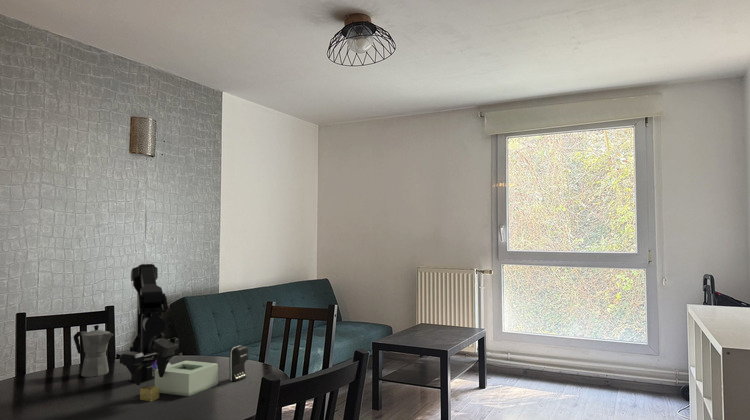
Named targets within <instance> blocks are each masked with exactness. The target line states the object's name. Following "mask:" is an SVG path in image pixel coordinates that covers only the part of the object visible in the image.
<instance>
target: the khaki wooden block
mask: <svg viewBox="0 0 750 420" xmlns="http://www.w3.org/2000/svg"><path fill="white" fill-rule="evenodd" d="M139 390H140V391H139V400H140V401H146V402H153V401H155V400H158V399H160V393H159V387H155V385H146V386H144V387H141V388H140V389H139Z"/></svg>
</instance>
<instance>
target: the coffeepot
mask: <svg viewBox="0 0 750 420" xmlns="http://www.w3.org/2000/svg"><path fill="white" fill-rule="evenodd" d="M99 327H100V325H98V324H96V325H94V326H93V329H94V330H91V331H81V330H80V331H77V332H76V333H75V334H74V335H73V342H74V344H75V347H76V351H77V353H78V354H80V355H81V354H82V355H83V354H84V353H85V356H84V360H83V364H82V369H81V373H80V376H81V377H84V378H95V377H94V376H96V377H100V376H104V375H108V374H109V371H110V370H109V369H110V368H109V363H108V357H107V355H106V354H107V351H108V346H109V341H110V339H111V338H112V337H113V336H114V333H113V332H111V331H106V330H102V329H100V330H99ZM79 337H81V338H82V344H83V350H82V349H81V348H82V346H81V343H80V338H79Z"/></svg>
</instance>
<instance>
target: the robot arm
mask: <svg viewBox="0 0 750 420" xmlns="http://www.w3.org/2000/svg"><path fill="white" fill-rule="evenodd" d="M158 270H159V269H158V267H157V266H155V264H153V263H142V264H138V266H136V267H132V268H131V270H130V282H132V287H133V288H134V289H135V291H136V292H137V297H136V334H135V336H134V337H133V338H132V340H131V346H129V350H128V351H127V352H124V353H121V355H119V364H120V365H123V366H125V367H126V368H127V370H128V371H129V373H130V375H131V376H130V377H131V378H128V379H127V381H128V382H134V383H135V385H136V386H140V385H141V383H143V382H146V381H149V380H152V379H155V375H153V370H152V362H155V361H156V360H157V367H158V373H159V377H163V375H164V372H165V370H166V367H167V364H168V363H170V360H171V358H173V357H175V356H177V355H176V353H179V352H180V350H179V348H180V347H179V346H180V341H179V338H177V337H173V338H170V339H169V338H168V339H167V338H165V332H164V331H165V329H166V320H165V319H164V318H162V314H164V313H167V310H168V307H169V306H168V298H167V296H166V293H165V292H163V288H162V287H161V286H159V285H158V283H157V280H158V278H159V275H158V273H159V271H158Z"/></svg>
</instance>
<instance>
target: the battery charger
mask: <svg viewBox="0 0 750 420" xmlns="http://www.w3.org/2000/svg"><path fill="white" fill-rule="evenodd" d="M247 361H249V349H248V347H247V346H246V345H237V346H233V347H232V348H230V351H229V381H231V382H239V381H241V380H243V379H246V378H247V372H246V370H245V367H246V366H245V363H246V362H247Z"/></svg>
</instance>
